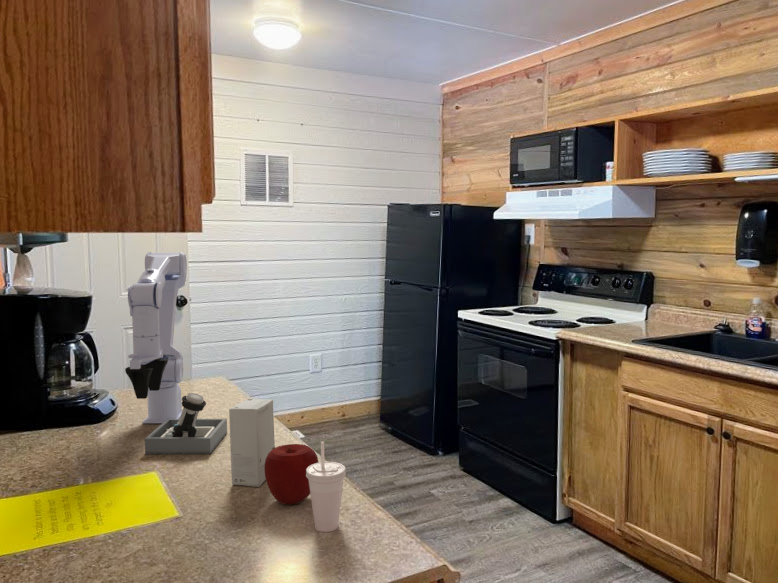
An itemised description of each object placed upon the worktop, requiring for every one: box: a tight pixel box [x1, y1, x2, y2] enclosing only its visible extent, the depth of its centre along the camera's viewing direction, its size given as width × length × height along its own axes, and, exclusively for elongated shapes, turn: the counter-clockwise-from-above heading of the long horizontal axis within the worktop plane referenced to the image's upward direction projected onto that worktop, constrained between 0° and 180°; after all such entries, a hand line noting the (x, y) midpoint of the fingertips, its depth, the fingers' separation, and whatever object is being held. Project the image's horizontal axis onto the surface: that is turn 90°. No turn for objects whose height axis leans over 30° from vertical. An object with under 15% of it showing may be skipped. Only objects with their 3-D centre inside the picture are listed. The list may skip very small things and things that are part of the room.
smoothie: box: [306, 441, 347, 533], centre depth 100 cm, size 6×6×14 cm
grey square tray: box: [144, 418, 228, 455], centre depth 140 cm, size 14×14×4 cm
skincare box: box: [228, 398, 276, 488], centre depth 119 cm, size 8×6×15 cm
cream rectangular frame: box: [161, 427, 215, 437], centre depth 140 cm, size 8×10×2 cm
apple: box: [264, 443, 320, 506], centre depth 110 cm, size 10×10×10 cm
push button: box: [165, 392, 207, 437], centre depth 139 cm, size 7×5×10 cm
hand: (148, 394), depth 142 cm, fingers open, 7 cm apart
